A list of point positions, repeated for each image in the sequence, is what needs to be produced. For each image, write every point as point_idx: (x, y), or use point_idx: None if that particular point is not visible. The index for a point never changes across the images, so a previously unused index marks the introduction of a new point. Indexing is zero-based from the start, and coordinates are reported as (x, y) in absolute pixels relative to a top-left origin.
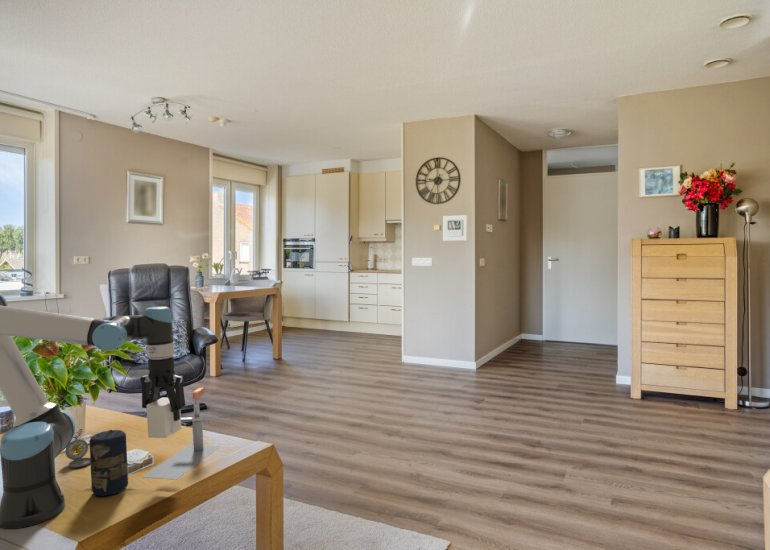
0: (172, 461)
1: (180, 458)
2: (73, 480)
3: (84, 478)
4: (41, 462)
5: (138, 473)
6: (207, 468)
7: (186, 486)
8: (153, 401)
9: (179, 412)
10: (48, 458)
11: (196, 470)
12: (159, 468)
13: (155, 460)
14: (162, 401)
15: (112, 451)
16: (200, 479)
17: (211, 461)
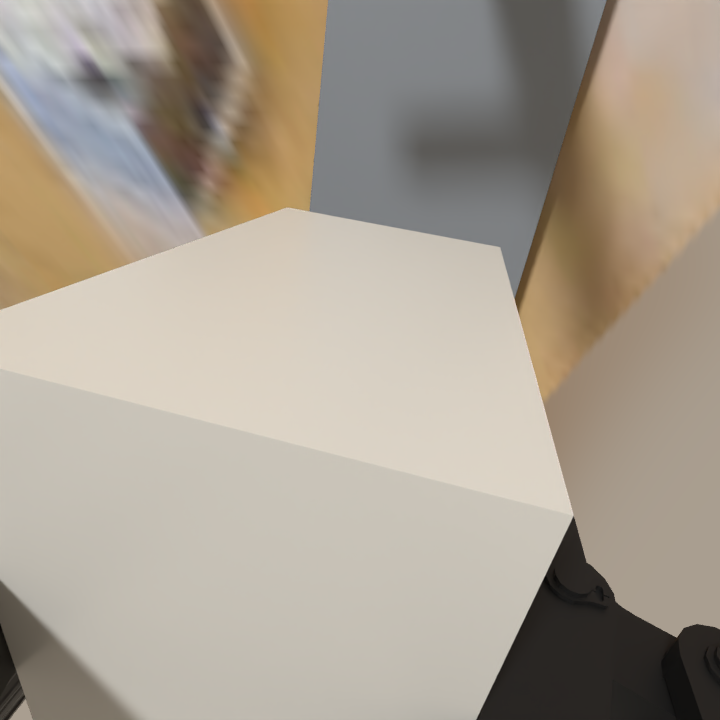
0: (374, 94)
1: (409, 36)
2: (14, 274)
3: (39, 257)
4: (14, 707)
5: (242, 214)
6: (637, 155)
7: (560, 379)
8: (2, 654)
9: (578, 540)
10: (6, 692)
11: (565, 186)
12: (342, 206)
13: (229, 12)
14: (190, 687)
15: None
16: (620, 310)
17: (648, 21)
